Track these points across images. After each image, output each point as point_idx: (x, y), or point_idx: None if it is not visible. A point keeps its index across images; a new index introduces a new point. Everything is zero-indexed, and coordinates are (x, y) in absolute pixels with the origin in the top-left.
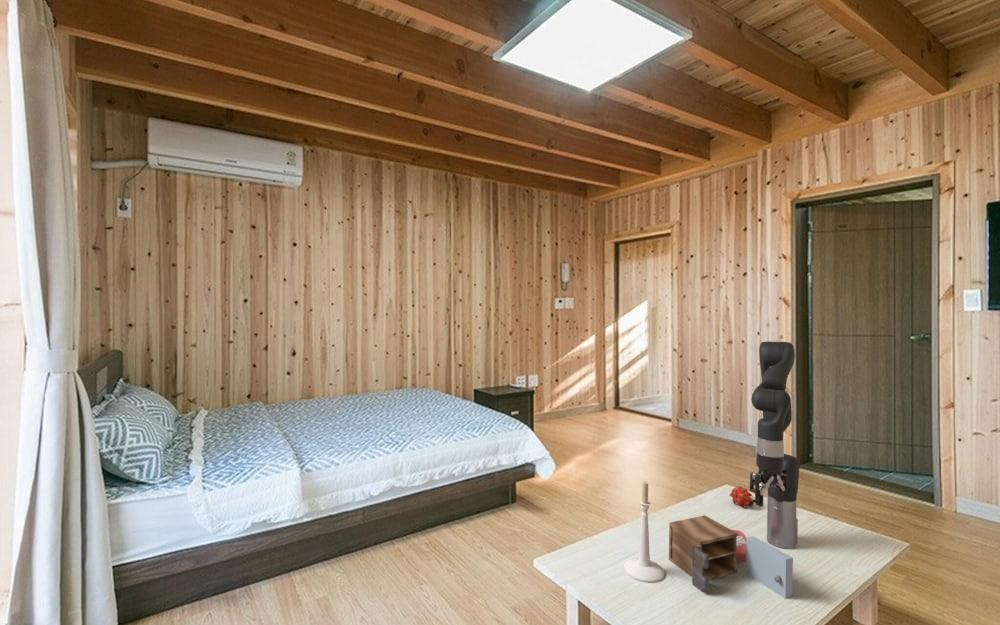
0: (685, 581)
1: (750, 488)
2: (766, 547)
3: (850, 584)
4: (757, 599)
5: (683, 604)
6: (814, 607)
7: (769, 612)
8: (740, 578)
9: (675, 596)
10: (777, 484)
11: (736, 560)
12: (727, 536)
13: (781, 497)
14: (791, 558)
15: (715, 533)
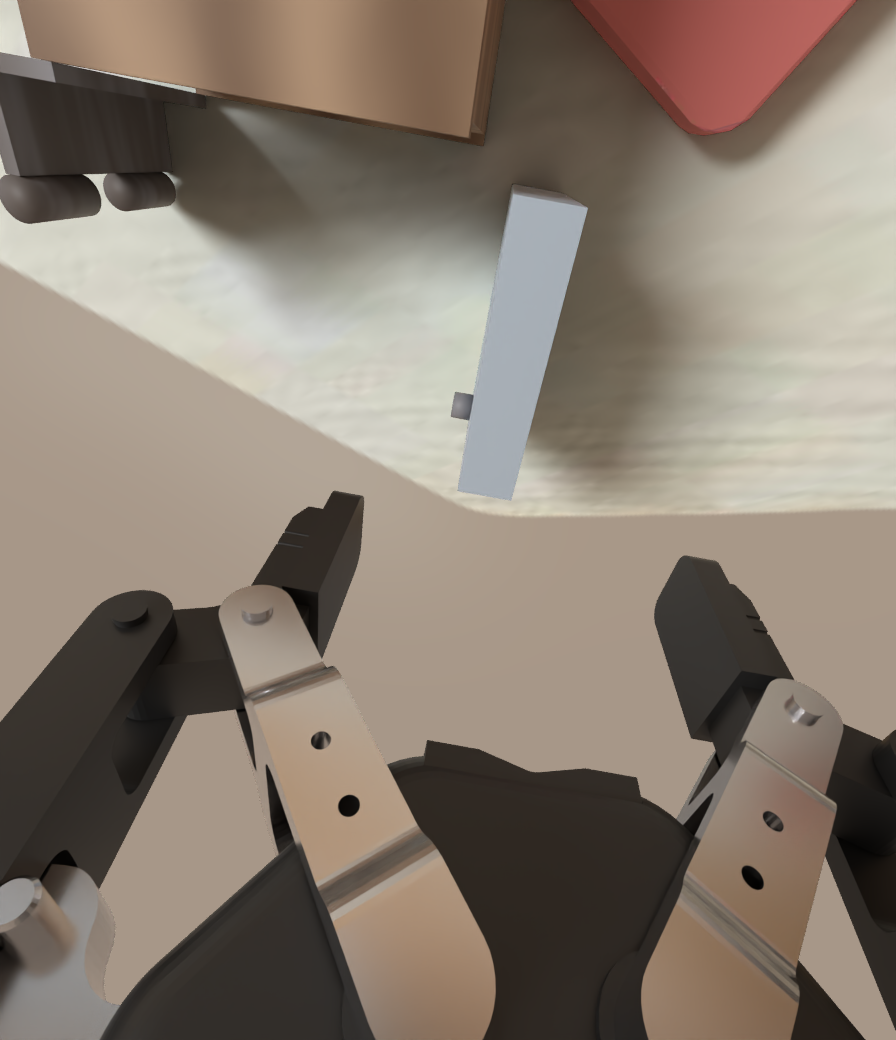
0: None
1: (80, 645)
2: (496, 367)
3: (802, 495)
4: (363, 350)
5: None
6: None
7: (334, 417)
8: (443, 200)
9: None
10: (682, 822)
11: (607, 42)
12: (347, 114)
13: (670, 664)
14: (499, 496)
15: (273, 5)
